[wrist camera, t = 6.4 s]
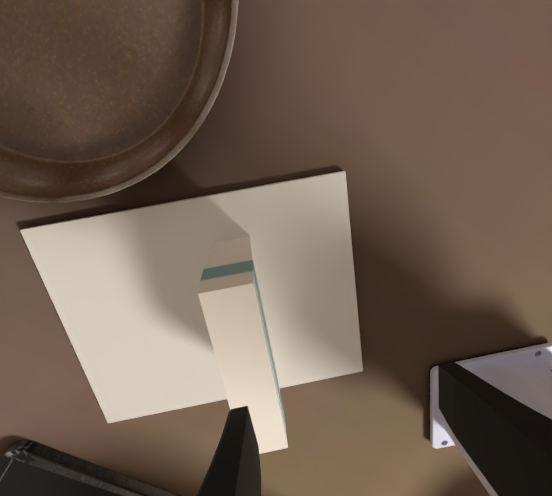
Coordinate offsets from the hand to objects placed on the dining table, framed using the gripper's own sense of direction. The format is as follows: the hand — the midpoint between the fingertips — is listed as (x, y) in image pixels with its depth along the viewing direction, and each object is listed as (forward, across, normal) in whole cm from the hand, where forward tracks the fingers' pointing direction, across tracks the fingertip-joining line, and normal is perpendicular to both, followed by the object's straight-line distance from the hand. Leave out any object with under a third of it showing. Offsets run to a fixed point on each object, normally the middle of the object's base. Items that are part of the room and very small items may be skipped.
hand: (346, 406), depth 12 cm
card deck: (+9, +4, 0) cm, 10 cm away
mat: (+9, +6, 0) cm, 11 cm away
